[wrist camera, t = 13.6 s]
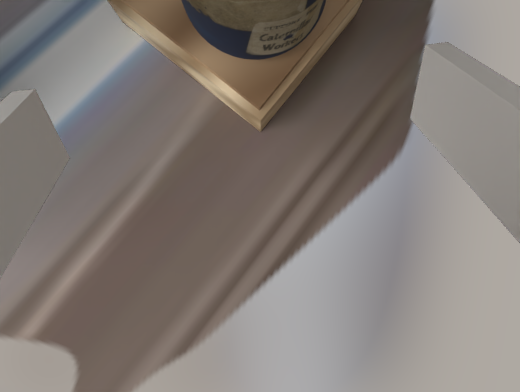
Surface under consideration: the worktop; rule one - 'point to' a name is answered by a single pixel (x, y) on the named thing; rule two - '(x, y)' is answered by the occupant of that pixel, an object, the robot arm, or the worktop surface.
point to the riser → (229, 67)
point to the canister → (254, 24)
